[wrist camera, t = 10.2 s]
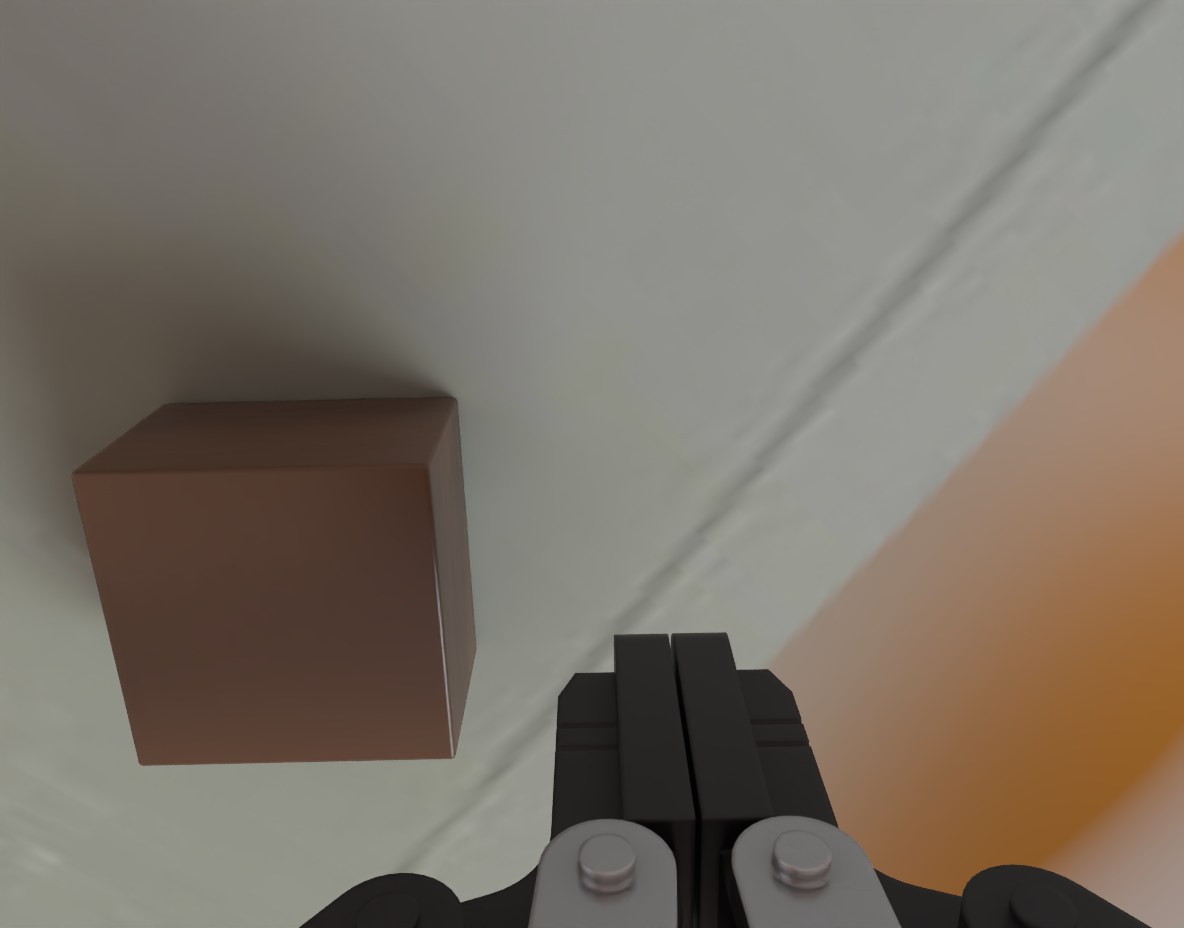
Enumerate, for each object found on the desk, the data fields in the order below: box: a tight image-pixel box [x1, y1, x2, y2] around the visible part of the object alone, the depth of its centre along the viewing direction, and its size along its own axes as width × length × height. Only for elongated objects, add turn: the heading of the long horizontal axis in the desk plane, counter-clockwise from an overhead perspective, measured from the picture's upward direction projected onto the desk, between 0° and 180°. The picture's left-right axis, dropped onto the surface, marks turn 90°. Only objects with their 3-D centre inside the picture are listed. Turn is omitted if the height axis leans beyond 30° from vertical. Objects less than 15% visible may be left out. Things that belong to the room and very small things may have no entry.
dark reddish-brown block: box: [72, 397, 476, 766], centre depth 16 cm, size 5×5×3 cm
